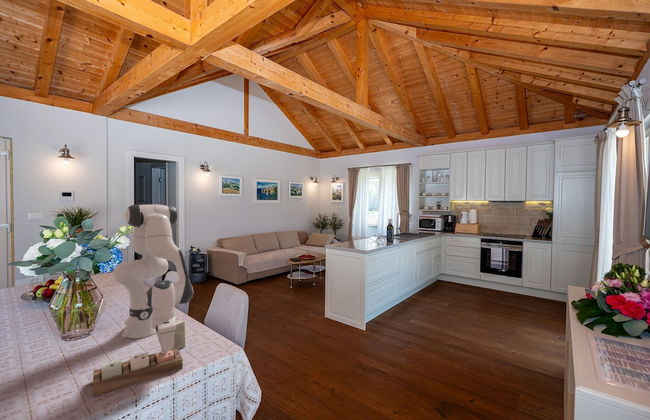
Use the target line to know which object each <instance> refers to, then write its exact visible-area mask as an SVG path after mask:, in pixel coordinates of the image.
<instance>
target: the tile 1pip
mask: <svg viewBox="0 0 650 420" xmlns="http://www.w3.org/2000/svg"><path fill="white" fill-rule="evenodd" d="M121 363H122V359H117V360H113V361H110V362H107V363H103V364H101V368H102V380H104V379H108V378H111V377H114V376H118V375H121V374H122V366H121Z"/></svg>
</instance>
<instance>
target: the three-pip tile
mask: <svg viewBox="0 0 650 420" xmlns="http://www.w3.org/2000/svg"><path fill="white" fill-rule="evenodd" d="M155 353H156V364H158V363H161V362H164V361H168V360H171V359H174V353H173V351H172V350H171V351H167V354H164V355H163V354H162V352H161V351H158V352H155Z"/></svg>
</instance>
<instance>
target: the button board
mask: <svg viewBox="0 0 650 420" xmlns="http://www.w3.org/2000/svg"><path fill="white" fill-rule="evenodd" d="M172 351H173V353H174V359H171V360H168V361H164V362H161V363H158V364H156V353H157V352H155V353H151V354H148V356H149V366H148V367H144V368H141V369H138V370H134V371H130V359H129V360H127V361H123V362H122V361H121V366H122V374H121V375H118V376H114V377H111V378H108V379H104V380H102V367H101V368H97V369H94V370H93V373H92V374H93V375H92V398H95V397H99V396H101V395H104V394H107V393H110V392H113V391H117V390H120V389H122V388H126V387H129V386H132V385H135V384H138V383H142V382H145V381H148V380H151V379H155V378H157V377H161V376H164V375H167V374H169V373H173V372H176V371H179V370H182V369H183V368H184V367H183V357H182V355H181V353H180V350H179V349H177V347H176V348H173V350H172ZM160 352H162V351H160Z"/></svg>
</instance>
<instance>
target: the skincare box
mask: <svg viewBox="0 0 650 420" xmlns="http://www.w3.org/2000/svg"><path fill="white" fill-rule="evenodd" d="M185 325H186V324H185V321H184V320H182V319H178V320H176V330H174V347H173V348H176V347H177V349H178V350H179V349H182V348H185V347H186V330H185V329H186V326H185Z"/></svg>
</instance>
